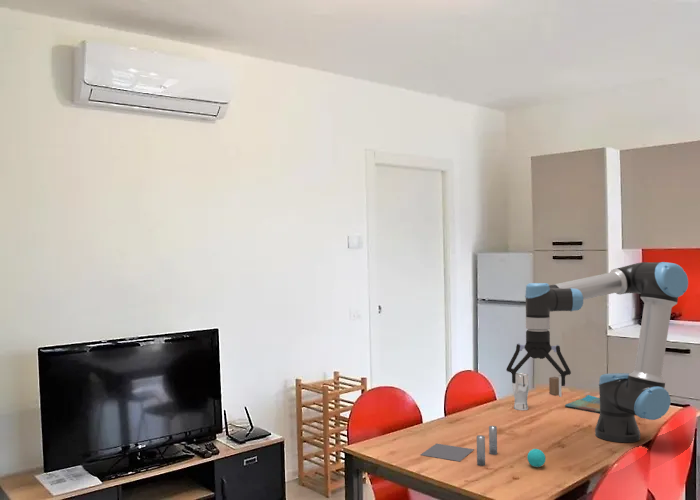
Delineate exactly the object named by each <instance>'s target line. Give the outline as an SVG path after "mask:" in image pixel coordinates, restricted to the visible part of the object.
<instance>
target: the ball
mask: <svg viewBox="0 0 700 500" xmlns="http://www.w3.org/2000/svg"><path fill="white" fill-rule="evenodd" d="M526 458H527V462H528V463H529V464H530V466H532V467H535V468H540V467H542V466H544V465H545V462H546V455H545V453H544V452H543V451H542V450H541V449H538V448H532V449H530V450H529V452H528V453H527V456H526Z"/></svg>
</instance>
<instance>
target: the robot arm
mask: <svg viewBox="0 0 700 500" xmlns="http://www.w3.org/2000/svg"><path fill="white" fill-rule="evenodd" d="M688 287H689V277H688V275H687V272H686V271H684V268H683V267H682V266H680V265H679V264H677V263H673V262H667V261H666V262H665V261H661V262H660V261H658V262H655V261H654V262H651V261H650V262H648V261H643V262H642V261H641V262H638V263H637V262H635V263H633V264H630V265H625V266H622V267H618V268H613V269H611V270H610V272H605V273H602V274H598V275H597V274H596V275H591V276H587V277H583V278H578V279H574V280H573V279H572V280H568V281H564V282H559V283H554V284H549V283H546V282H545V283H544V282H529V283H527V284H526V285H525V295H524V297H525V329H527V330H526V331H525V344H520V343H516V346H515V348H516V349H515V352H514V353H513V355H512V357H511V359H510V361H509V363H508V365H507V367H506V372H507V373H510V374H511V384H512V383H516V394H518V373H519V372H518V371H519V370H520V369H521V368H522V366H523V365H524V364H525V363H526V362H527V361H528V360H529V359H530V358H532V359H540V360H541V359H542V360H543V359H546V360H547V361H548V362H549V363H550V364H551V365H552V366H553V368H554V369H555V370H556V372H558V373H559V375H558V378H559V395H558V397H561V398H562V396H563V395H562V393H563V392H562V387H565V386H566V376H568V375H569V376H570V375H571V374H572V371H571V369H570V367H569V365H568V364H567V361H566V360H565V357H564V356H563V354H562V352H561V347H560V345H559V344H556V345H551V338H550V336H551V331H549V329H550V326H551V324H550V323H551V322H550V318H551V317H550V313H551V312H574V311H575V312H576V311H580V310H581V309H582V307H583V306H584V300H588V299H592V298H598V297H602V296H607V295H611V294H616V295H624V294H636V295H637V294H639V295H640V299H641V300H642V302H643V303H644V304H643V311H642V318H641V324H640V331H639V336H638V342H637V343H638V344H637V349H636V356H635V361H634V362H635V363H634V369H633V371H632V372H631V373H627V372H626V373H624V372H622V373H621V372H616V373H615V372H614V373H613V372H612V373H604V374H601V375H600V376H599V381H598V382H599V384H598V386H599V387H598V389H599V398H600V414H599V416H598V420H597V423H596V426H595V430H594V432H595V433H594V434H595V436H596V437H597V438H599V439H601V440H605V441H609V442H615V443H635V442H638V441H640V440H641V431H640V429H639V426H638V423H637V421H636V418H635V416H637V417H639V419H645V420H649V421H655V420H659V419H661V418H662V417H663V416H665V415H666V414H667V413H668V411H669V410H670V406H671V396H670V394H669V392H668V391H667V389H666V387H665V386H666V381H665V380H664V378H663V377H662V372H663V369H664V368H663V367H664V360H665V355H666V354H665V353H666V347H667V341H668V334H669V326H670V322H671V313H672V308H673V307H674V306H676V305H678V302H679V298H680V297H682V296H683V295H684V293H686V292H687V290H688ZM523 349H524V350H525V351H526V354H525V355H524V356H523V358H521V360H520V361H519V362H518V363H517V364H516V365H515V366H514V364H515V362H516V360H517V357H518V356H519V354H520V352H521V351H523ZM552 350H553V352H554V353H556V355H557V357H558V360H560V362H561V365H562V367H563V368H564V369H562V368H561V366H560V365H559V364H558V363H557V361H555V360H554V358H553V356H552V355H551V354H550V352H551V351H552ZM513 366H514V367H513ZM512 367H513V368H512Z"/></svg>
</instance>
